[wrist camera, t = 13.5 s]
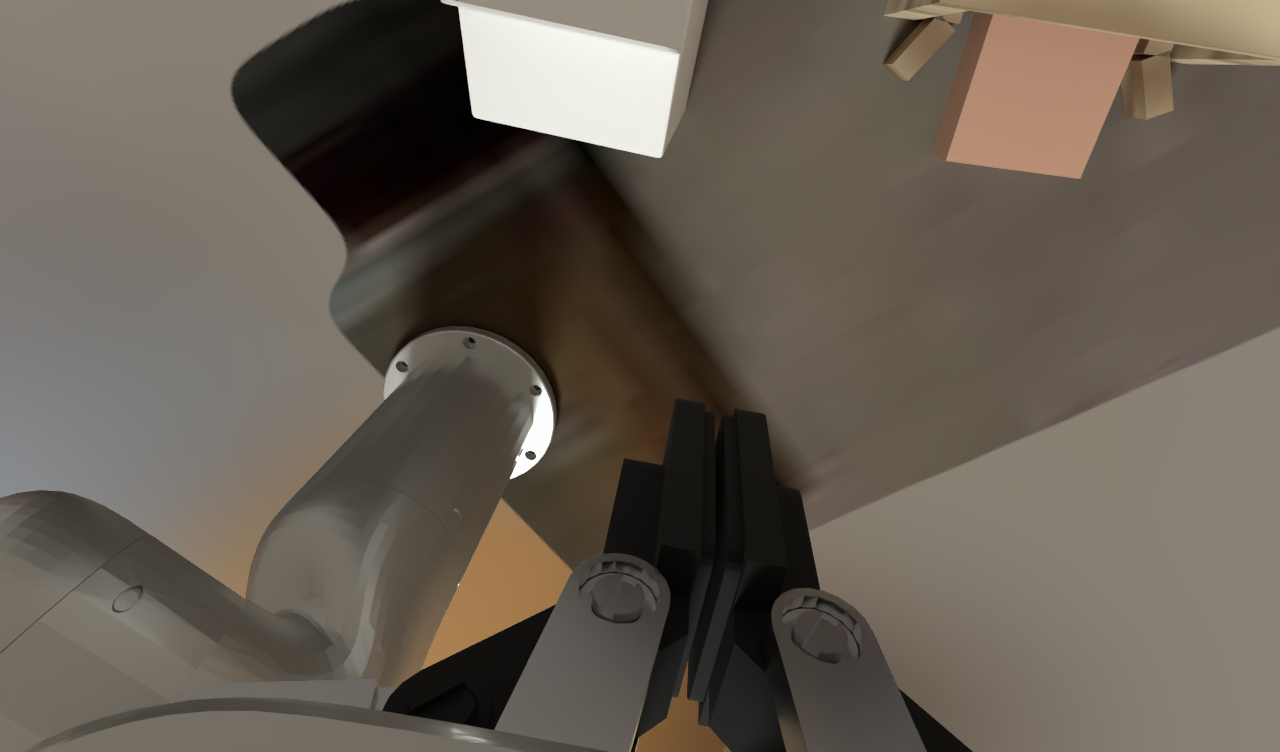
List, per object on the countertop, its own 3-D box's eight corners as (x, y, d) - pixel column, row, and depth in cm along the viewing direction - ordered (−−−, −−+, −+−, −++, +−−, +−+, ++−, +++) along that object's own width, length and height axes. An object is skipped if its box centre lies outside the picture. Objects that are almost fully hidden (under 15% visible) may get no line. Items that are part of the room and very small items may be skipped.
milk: (600, -33, 33) (436, -169, 14) (712, -8, 33) (709, -110, 14) (582, 91, 36) (426, 126, 16) (686, 114, 36) (653, 176, 16)
